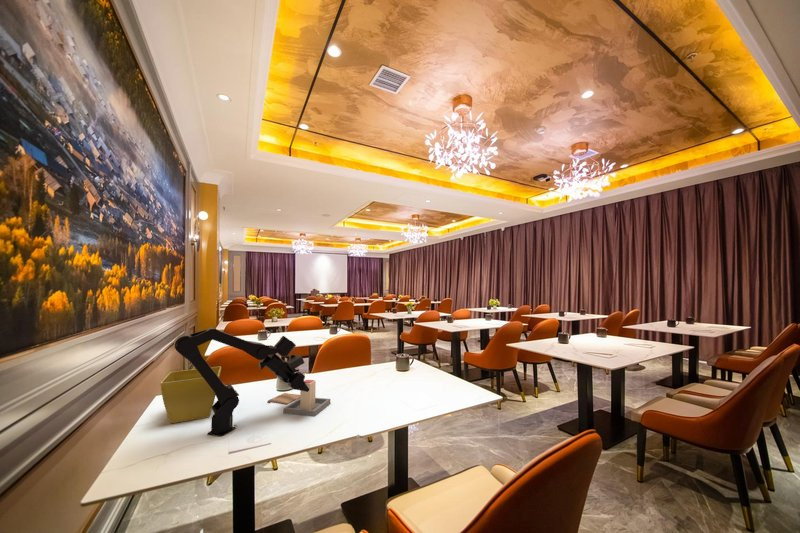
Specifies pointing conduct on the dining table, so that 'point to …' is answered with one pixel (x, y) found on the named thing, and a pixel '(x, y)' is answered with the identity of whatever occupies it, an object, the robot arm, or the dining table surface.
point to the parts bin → (295, 409)
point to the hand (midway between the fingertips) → (304, 387)
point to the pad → (284, 398)
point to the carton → (308, 396)
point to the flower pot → (187, 395)
